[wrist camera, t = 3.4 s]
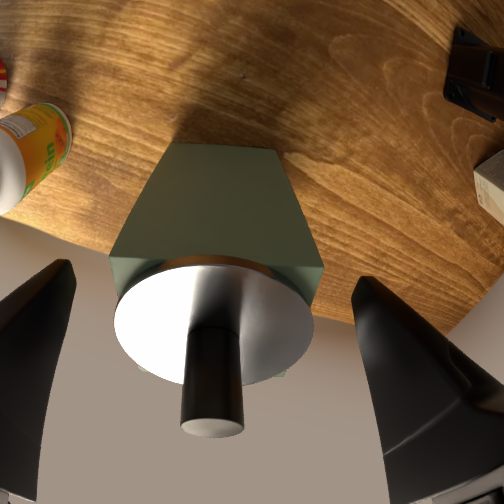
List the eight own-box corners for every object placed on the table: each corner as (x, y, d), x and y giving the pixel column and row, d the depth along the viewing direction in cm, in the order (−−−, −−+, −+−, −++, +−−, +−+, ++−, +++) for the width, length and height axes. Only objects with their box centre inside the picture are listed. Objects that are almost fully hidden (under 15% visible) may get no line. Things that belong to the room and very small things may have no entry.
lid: (336, 260, 10) (377, 364, 6) (288, 379, 14) (300, 452, 11) (98, 247, 9) (50, 351, 5) (134, 373, 13) (124, 448, 10)
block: (275, 149, 19) (325, 267, 10) (261, 235, 24) (284, 376, 14) (170, 142, 19) (107, 255, 9) (171, 230, 23) (139, 371, 13)
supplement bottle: (61, 180, 19) (-10, 259, 11) (12, 152, 17) (-67, 217, 9) (84, 118, 17) (-2, 175, 9) (31, 91, 15) (-65, 134, 7)
